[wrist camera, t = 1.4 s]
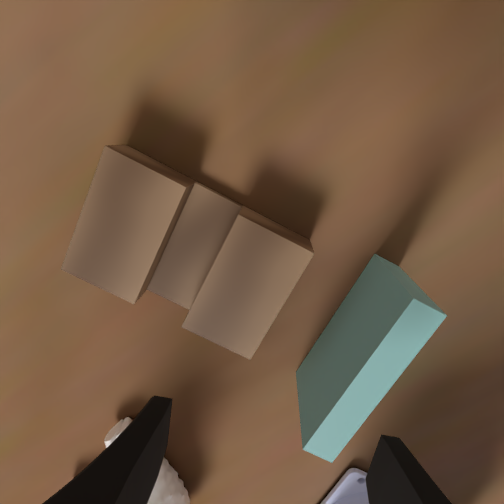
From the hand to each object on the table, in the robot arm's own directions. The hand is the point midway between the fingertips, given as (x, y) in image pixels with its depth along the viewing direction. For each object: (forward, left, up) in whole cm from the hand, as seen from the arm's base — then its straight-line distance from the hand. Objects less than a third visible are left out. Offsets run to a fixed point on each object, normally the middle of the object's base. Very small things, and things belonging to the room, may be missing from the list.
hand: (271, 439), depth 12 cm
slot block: (+6, -1, -10) cm, 11 cm away
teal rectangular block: (-4, -1, -10) cm, 11 cm away
